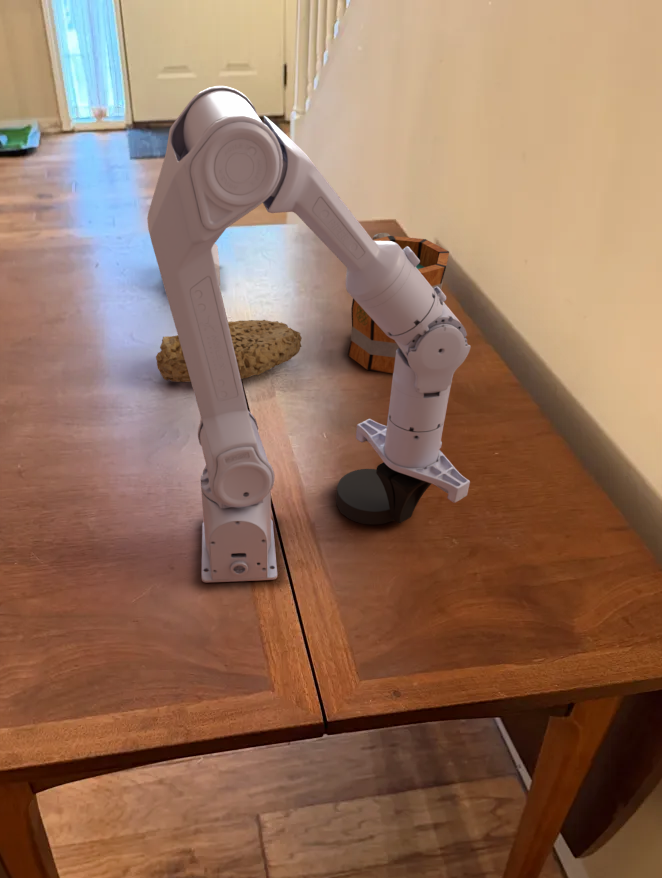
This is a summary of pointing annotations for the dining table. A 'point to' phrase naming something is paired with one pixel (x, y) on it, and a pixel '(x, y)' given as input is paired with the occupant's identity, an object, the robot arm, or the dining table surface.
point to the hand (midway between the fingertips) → (401, 517)
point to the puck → (363, 497)
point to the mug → (366, 335)
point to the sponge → (238, 349)
